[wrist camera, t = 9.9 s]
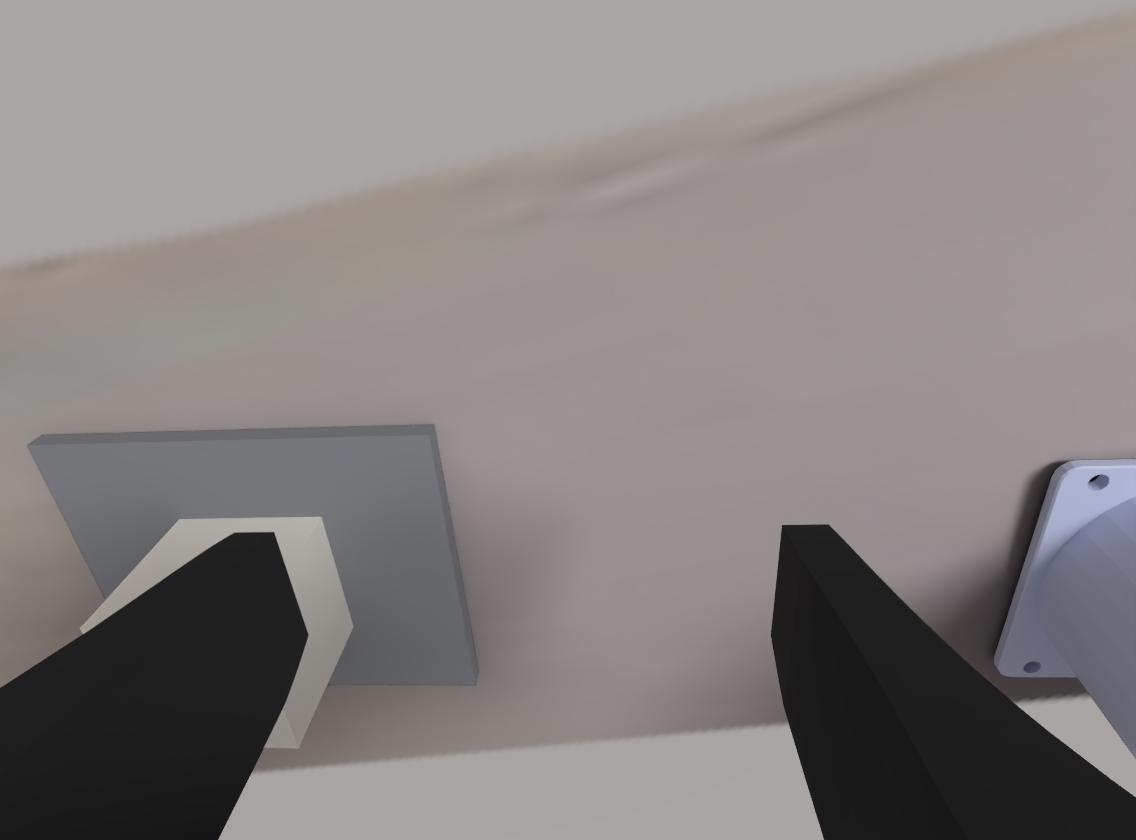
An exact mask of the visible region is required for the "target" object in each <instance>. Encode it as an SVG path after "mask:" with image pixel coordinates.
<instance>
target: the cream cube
mask: <svg viewBox="0 0 1136 840" xmlns="http://www.w3.org/2000/svg"><path fill="white" fill-rule="evenodd" d="M235 532H274V533H275V536H276V539H277V542H278V545H279V548H280V551H281V554H282V557H283V560H284V563H285V566H286V569H287V572H288V575H289V578H290V581H291V584H292V587H293V590H294V593H295V596H296V599H297V602H298V605H299V608H300V611H301V614H302V617H303V620H304V623H305V626H306V629H307V632H308V635H309V636H308V639H307V642H306V645H305V649H304V652H303V655H302V658H301V661H300V664H299V667H298V670H297V673H296V676H295V679H294V681H293V684H292V687H291V690H290V692H289V695H288V698H287V701H286V703H285V705H284V707H283V709H282V711H281V714H280V716H279V718H278V720H277V722H276V724H275V726H274V728H273V730H272V732H271V734H270V736H269V738H268V740H267V742H266V744H265V746H264V748H299V747H300V745H301V742H302V740H303V738H304V736H305V733H306V731H307V729H308V727H309V725H310V722H311V720H312V718H313V716H314V713H315V711H316V709H317V707H318V705H319V702H320V700H321V698H322V696H323V693H324V691H325V689H326V687H327V685H328V682H329V680H330V678H331V676H332V673H333V671H334V669H335V667H336V665H337V662H338V660H339V658H340V656H341V653H342V651H343V649H344V647H345V645H346V642H347V640H348V638H349V636H350V633H351V631H352V629H353V623H352V620H351V616H350V613H349V610H348V606H347V603H346V599H345V596H344V592H343V589H342V586H341V582H340V579H339V575H338V572H337V569H336V565H335V562H334V558H333V555H332V552H331V548H330V545H329V541H328V538H327V535H326V531H325V528H324V524H323V521H322V517H273V518H215V519H179V520H178V521H177V522H176V523H175V524H174V526H173V527H172V528H171V529H170V530H169V531H168V532H167V533H166V534H165V535H164V537H163V538H162V539H161V540H160V541H159V542H158V543H157V544H156V545H155V546H154V547H153V549H152V550H151V551H150V552H149V553H148V554H147V555H146V556H145V557H144V558H143V560H142V561H141V562H140V563H139V564H138V565H137V566H136V567H135V568H134V569H133V570H132V572H131V573H130V574H129V575H128V576H127V577H126V578H125V579H124V580H123V581H122V583H121V584H120V585H119V586H118V587H117V588H116V589H115V590H114V591H113V592H112V594H111V595H110V596H109V597H108V598H107V599H106V600H105V601H104V602H103V603H102V604H101V606H100V607H99V608H98V609H97V610H96V611H95V612H94V613H93V614H92V615H91V617H90V618H89V619H88V620H87V621H86V622H85V623H84V624H83V625H82V626H81V627H80V630H81V632H82V634H84V633H86V632H87V631H89V630H90V629H92V628H93V627H95V626H96V625H98V624H99V623H101V622H102V621H103V620H105V619H106V618H108V617H109V616H111V615H112V614H114V613H115V612H116V611H118V610H119V609H121V608H122V607H124V606H125V605H127V604H128V603H130V602H131V601H132V600H134V599H135V598H137V597H138V596H140V595H141V594H143V593H144V592H145V591H147V590H148V589H150V588H151V587H153V586H154V585H156V584H157V583H158V582H160V581H161V580H163V579H164V578H166V577H167V576H168V575H170V574H171V573H173V572H174V571H176V570H177V569H179V568H180V567H182V566H183V565H184V564H186V563H187V562H189V561H190V560H192V559H193V558H195V557H196V556H198V555H199V554H201V553H202V552H204V551H205V550H207V549H208V548H210V547H211V546H213V545H214V544H216V543H218V542H219V541H221V540H223V539H224V538H226V537H228V536H229V535H231V534H233V533H235Z"/></svg>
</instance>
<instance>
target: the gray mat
mask: <svg viewBox="0 0 1136 840" xmlns="http://www.w3.org/2000/svg"><path fill="white" fill-rule="evenodd" d="M27 447H28V449H29V451H30V453H31V455H32V457H33V459H34V461H35V463H36V465H37V467H38V468H39V470H40V472H41V474H42V476H43V478H44V480H45V482H46V484H47V486H48V488H49V490H50V492H51V494H52V496H53V498H54V500H55V502H56V504H57V506H58V508H59V510H60V512H61V514H62V516H63V518H64V519H65V521H66V523H67V525H68V527H69V529H70V531H71V533H72V535H73V537H74V539H75V541H76V543H77V545H78V547H79V549H80V551H81V553H82V555H83V557H84V559H85V561H86V563H87V565H88V567H89V569H90V570H91V572H92V574H93V576H94V578H95V580H96V582H97V584H98V586H99V588H100V590H101V592H102V594H103V596H104V598H105V600H106V599H107V598H108V597H109V596H110V595H111V594H112V592H113V591H114V590H115V589H116V588H117V587H118V586H119V585H120V584H121V583H122V581H123V580H124V579H125V578H126V577H127V576H128V575H129V574H130V573H131V572H132V570H133V569H134V568H135V567H136V566H137V565H138V564H139V563H140V562H141V561H142V560H143V558H144V557H145V556H146V555H147V554H148V553H149V552H150V551H151V550H152V549H153V547H154V546H155V545H156V544H157V543H158V542H159V541H160V540H161V539H162V538H163V537H164V535H165V534H166V533H167V532H168V531H169V530H170V529H171V528H172V527H173V526H174V524H175V523H176V522H177V521H178V520H179V519H215V518H273V517H322V521H323V524H324V528H325V531H326V535H327V538H328V541H329V545H330V548H331V552H332V555H333V558H334V562H335V565H336V569H337V572H338V575H339V579H340V582H341V586H342V589H343V592H344V596H345V599H346V603H347V606H348V610H349V613H350V616H351V620H352V623H353V629H352V631H351V633H350V636H349V638H348V640H347V642H346V645H345V647H344V649H343V651H342V653H341V656H340V658H339V660H338V662H337V665H336V667H335V669H334V671H333V673H332V676H331V678H330V680H329V682H328V685H459V686H476V682H477V677H478V673H479V671H478V665H477V660H476V654H475V648H474V643H473V637H472V632H471V626H470V621H469V615H468V610H467V604H466V599H465V593H464V588H463V582H462V576H461V571H460V565H459V560H458V554H457V549H456V543H455V538H454V532H453V527H452V521H451V516H450V510H449V504H448V499H447V493H446V488H445V482H444V477H443V471H442V466H441V460H440V455H439V449H438V444H437V438H436V432H435V427H434V424H430V425H393V426H356V427H319V428H282V429H245V430H208V431H171V432H134V433H97V434H60V435H41V436H39V437H38V438H37V439H35V440H34V441H32V442H31V443H29V444H28V445H27Z"/></svg>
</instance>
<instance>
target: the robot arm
mask: <svg viewBox="0 0 1136 840" xmlns="http://www.w3.org/2000/svg"><path fill="white" fill-rule="evenodd" d="M1096 475H1099V477H1098V478H1097V479H1096V480H1094V481H1093V482H1089V481H1090V479H1091V478H1093V477H1094V476H1096ZM308 636H309V635H308V632H307V629H306V626H305V623H304V620H303V617H302V614H301V611H300V608H299V605H298V602H297V599H296V596H295V593H294V590H293V587H292V584H291V581H290V578H289V575H288V572H287V569H286V566H285V563H284V560H283V557H282V554H281V551H280V548H279V545H278V542H277V539H276V536H275V533H274V532H235V533H233V534H231V535H229V536H228V537H226V538H224V539H223V540H221V541H219V542H218V543H216V544H214V545H213V546H211V547H210V548H208V549H207V550H205V551H204V552H202V553H201V554H199V555H198V556H196V557H195V558H193V559H192V560H190V561H189V562H187V563H186V564H184V565H183V566H182V567H180V568H179V569H177V570H176V571H174V572H173V573H171V574H170V575H168V576H167V577H166V578H164V579H163V580H161V581H160V582H158V583H157V584H156V585H154V586H153V587H151V588H150V589H148V590H147V591H145V592H144V593H143V594H141V595H140V596H138V597H137V598H135V599H134V600H132V601H131V602H130V603H128V604H127V605H125V606H124V607H122V608H121V609H119V610H118V611H116V612H115V613H114V614H112V615H111V616H109V617H108V618H106V619H105V620H103V621H102V622H101V623H99V624H98V625H96V626H95V627H93V628H92V629H90V630H89V631H87V632H86V633H84V634H83V635H81V636H80V637H78V638H77V639H75V640H74V641H72V642H71V643H69V644H67V645H66V646H64V647H63V648H61V649H60V650H58V651H57V652H55V653H54V654H52V655H51V656H49V657H47V658H46V659H44V660H43V661H41V662H40V663H38V664H37V665H35V666H34V667H32V668H30V669H29V670H27V671H26V672H24V673H23V674H21V675H20V676H18V677H17V678H15V679H13V680H12V681H10V682H9V683H7V684H6V685H4V686H3V687H1V688H0V840H218V839H219V837H220V835H221V833H222V831H223V829H224V827H225V825H226V822H227V821H228V819H229V816H230V815H231V813H232V811H233V809H234V807H235V805H236V803H237V801H238V799H239V797H240V795H241V793H242V791H243V788H244V787H245V785H246V783H247V781H248V779H249V777H250V775H251V773H252V771H253V769H254V767H255V765H256V763H257V761H258V759H259V757H260V755H261V753H262V751H263V749H264V746H265V744H266V742H267V740H268V738H269V736H270V734H271V732H272V730H273V728H274V726H275V724H276V722H277V720H278V718H279V716H280V714H281V711H282V709H283V707H284V705H285V703H286V701H287V698H288V695H289V692H290V690H291V687H292V684H293V681H294V679H295V676H296V673H297V670H298V667H299V664H300V661H301V658H302V655H303V652H304V649H305V645H306V642H307V639H308ZM771 638H772V644H773V650H774V656H775V661H776V667H777V673H778V678H779V683H780V689H781V694H782V699H783V705H784V708H785V712H786V715H787V719H788V722H789V725H790V729H791V732H792V735H793V739H794V742H795V745H796V749H797V752H798V755H799V759H800V762H801V765H802V768H803V772H804V775H805V779H806V782H807V785H808V788H809V791H810V795H811V798H812V801H813V805H814V808H815V811H816V815H817V818H818V821H819V824H820V828H821V831H822V834H823V837H824V840H1136V797H1134V796H1133V795H1132V794H1130V793H1129V792H1128V791H1126V790H1125V789H1123V788H1122V787H1121V786H1119V785H1118V784H1116V783H1115V782H1114V781H1112V780H1111V779H1110V778H1109V777H1107V776H1106V775H1104V774H1103V773H1102V772H1101V771H1099V770H1098V769H1097V768H1095V767H1094V766H1093V765H1092V764H1090V763H1089V762H1088V761H1086V760H1085V759H1084V758H1082V757H1081V756H1080V755H1078V754H1077V753H1076V752H1074V751H1073V750H1072V749H1071V748H1069V747H1068V746H1066V744H1064V743H1063V742H1062V741H1060V740H1059V739H1058V738H1056V737H1055V736H1054V735H1052V734H1051V733H1050V732H1048V731H1047V730H1046V729H1045V728H1044V727H1042V726H1041V725H1040V724H1039V723H1037V722H1036V721H1035V720H1034V719H1033V718H1031V717H1030V716H1029V715H1028V714H1026V713H1025V712H1024V711H1023V710H1022V709H1020V708H1019V707H1018V706H1017V705H1015V704H1014V703H1013V702H1012V701H1011V700H1010V699H1009V698H1007V697H1006V696H1005V695H1004V694H1003V693H1002V692H1000V691H999V690H998V689H997V688H996V687H995V686H994V685H992V684H991V683H990V682H989V681H988V680H987V679H985V678H984V677H983V676H982V675H981V674H980V673H979V672H977V671H976V670H975V669H974V668H973V667H972V666H971V665H970V664H968V663H967V662H966V661H965V660H964V659H963V658H962V657H961V656H960V655H959V654H958V653H956V652H955V651H954V650H953V649H952V648H951V647H950V646H949V645H948V644H947V643H946V642H945V641H944V640H943V639H942V638H941V637H940V636H939V635H937V634H936V633H935V632H934V631H933V630H932V629H931V628H930V627H929V626H928V625H927V624H926V623H925V622H924V621H923V620H922V619H921V618H920V617H919V616H918V615H917V614H916V613H915V612H913V611H912V610H911V609H910V608H909V607H908V606H907V605H906V604H905V603H904V602H903V601H902V600H901V599H900V598H899V597H898V596H897V595H896V594H895V593H894V592H893V591H892V589H891V588H890V587H889V586H888V585H887V584H886V583H885V582H884V581H883V580H882V579H881V578H880V577H879V576H878V575H877V574H876V573H875V572H874V571H873V570H872V569H871V568H870V567H869V566H868V565H867V564H866V563H865V562H864V561H863V560H862V558H861V557H860V556H859V555H858V554H857V553H856V552H855V551H854V550H853V549H852V548H851V547H850V546H849V545H848V544H847V543H846V542H845V541H844V540H843V539H842V538H841V537H840V536H839V535H838V534H837V533H836V531H834V530H833V529H832V528H831V527H830V526H829V525H782V532H781V542H780V552H779V561H778V571H777V581H776V591H775V601H774V611H773V620H772V630H771ZM994 664H995V666H996V667H997V669H998V671H999V672H1000V674H1002V675H1004V676H1007V677H1074V678H1078V679H1079V681H1080V682H1081V684H1082V685H1083V686H1084V688H1085V689H1086V690H1087V692H1088V693H1089V695H1090V696H1091V697H1092V699H1093V700H1094V702H1095V703H1096V704H1097V706H1098V707H1099V709H1100V710H1101V711H1102V713H1103V714H1104V716H1105V717H1106V718H1107V720H1108V721H1109V723H1110V724H1111V725H1112V727H1113V728H1114V730H1115V731H1116V732H1117V734H1118V735H1119V736H1120V738H1121V739H1122V741H1123V742H1124V743H1125V745H1126V746H1127V748H1128V749H1129V750H1130V752H1131V753H1132V755H1133V756H1134V757H1135V759H1136V459H1117V460H1076V461H1070V462H1067V463H1065V464H1063V465H1061V466H1060V467H1059V468H1057V469H1056V470H1055V472H1054V474H1053V475H1052V478H1051V481H1050V484H1049V487H1048V490H1047V493H1046V497H1045V500H1044V503H1043V506H1042V509H1041V512H1040V515H1039V518H1038V522H1037V525H1036V528H1035V531H1034V534H1033V537H1032V540H1031V544H1030V547H1029V550H1028V553H1027V556H1026V559H1025V562H1024V565H1023V569H1022V572H1021V575H1020V578H1019V581H1018V584H1017V587H1016V591H1015V594H1014V597H1013V600H1012V603H1011V606H1010V609H1009V612H1008V616H1007V619H1006V622H1005V625H1004V628H1003V631H1002V634H1001V638H1000V641H999V644H998V647H997V650H996V653H995V656H994Z"/></svg>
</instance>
